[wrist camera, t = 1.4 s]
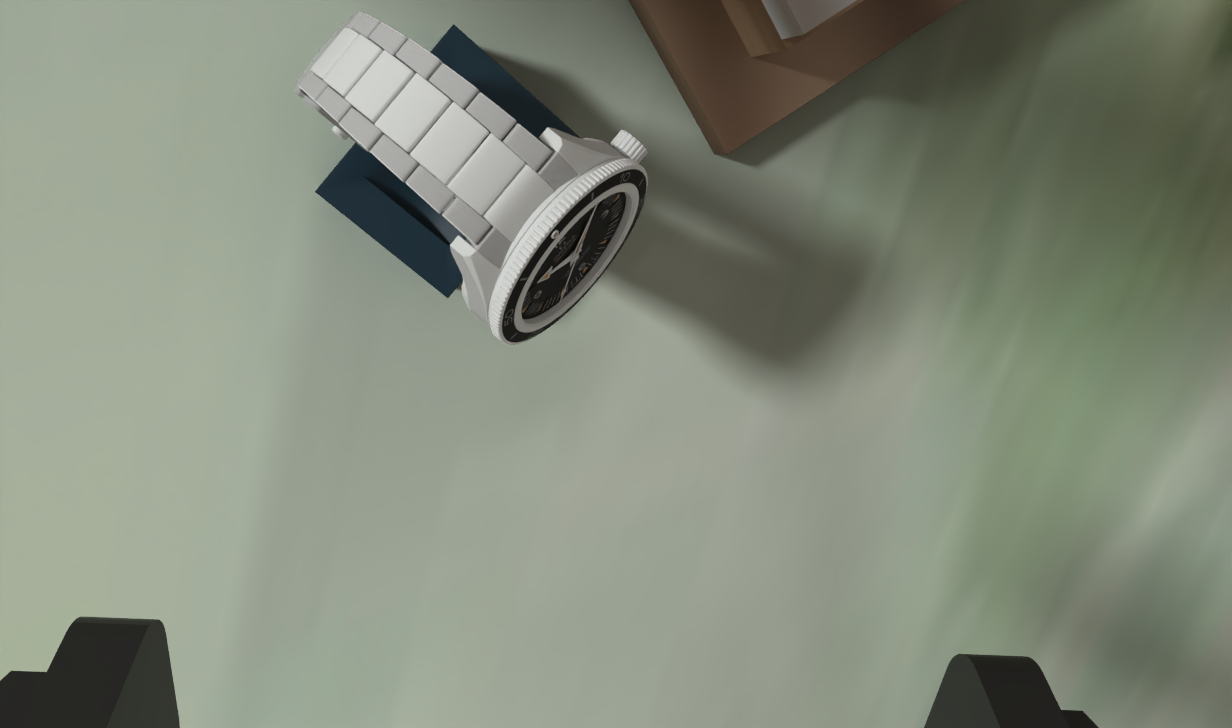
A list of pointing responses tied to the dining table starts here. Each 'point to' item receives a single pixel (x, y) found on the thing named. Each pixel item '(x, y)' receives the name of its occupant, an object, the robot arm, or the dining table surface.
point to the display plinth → (770, 53)
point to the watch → (471, 174)
